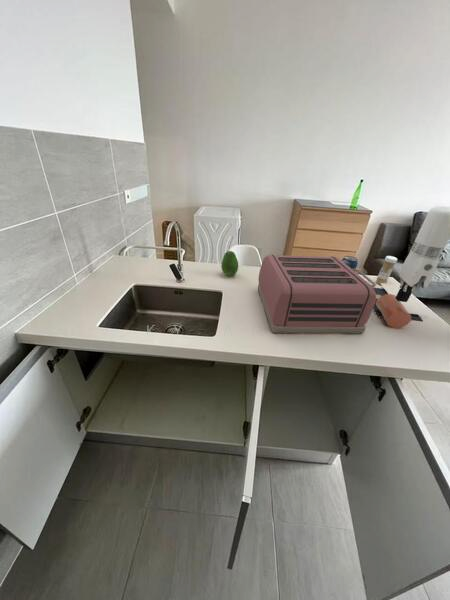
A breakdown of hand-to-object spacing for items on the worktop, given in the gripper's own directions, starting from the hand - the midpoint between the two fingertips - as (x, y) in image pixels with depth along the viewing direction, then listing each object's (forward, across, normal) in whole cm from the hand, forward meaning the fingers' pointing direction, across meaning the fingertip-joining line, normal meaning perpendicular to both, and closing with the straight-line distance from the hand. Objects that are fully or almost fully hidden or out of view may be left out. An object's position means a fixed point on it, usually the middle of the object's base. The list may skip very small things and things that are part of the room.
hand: (400, 300), depth 84 cm
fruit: (+10, +22, +64) cm, 68 cm away
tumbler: (+6, -4, 0) cm, 7 cm away
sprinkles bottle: (+10, +34, -8) cm, 36 cm away
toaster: (+10, +1, +29) cm, 31 cm away
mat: (+10, +16, -5) cm, 19 cm away
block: (+6, +12, +1) cm, 14 cm away
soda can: (+10, +31, +10) cm, 34 cm away
